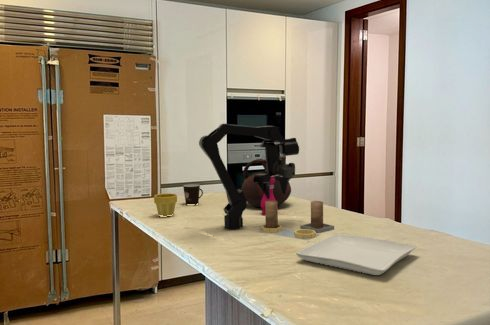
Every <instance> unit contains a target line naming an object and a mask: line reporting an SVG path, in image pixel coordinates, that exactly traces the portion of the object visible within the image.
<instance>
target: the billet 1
mask: <svg viewBox="0 0 490 325" xmlns="http://www.w3.org/2000/svg"><path fill="white" fill-rule="evenodd" d="M278 206H279V205H278V203H277V201H274V200H270V201H265V215H264V216H265V225H266V228H278V225H279V224H278V223H279V222H278V221H279V218H278V217H279V214H278V213H279V211H278Z"/></svg>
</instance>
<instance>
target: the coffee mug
mask: <svg viewBox="0 0 490 325" xmlns="http://www.w3.org/2000/svg"><path fill="white" fill-rule="evenodd" d="M182 187H183V188H182V189H183V193H184V201H185V205H186V204H197V203H198V204H199V202H200V201H199V200H200V199H201V198H202V197H203V194H204V191H203V190H202V189H201V184H196V183H195V184H193V183H192V184H184V185H183V186H182ZM200 191H201V194H200Z"/></svg>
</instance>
